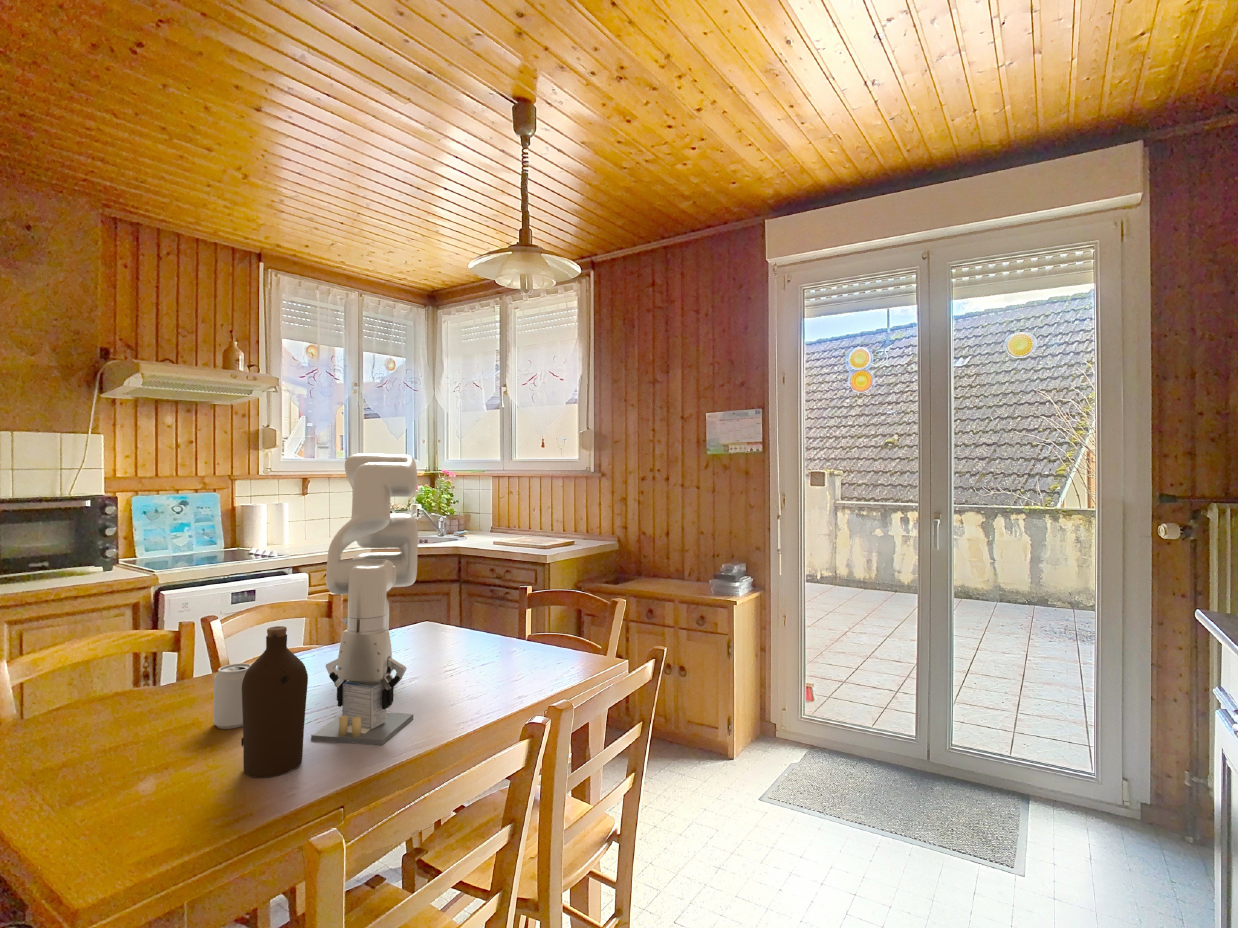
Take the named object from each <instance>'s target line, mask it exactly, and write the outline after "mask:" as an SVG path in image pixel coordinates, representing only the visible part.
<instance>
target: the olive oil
mask: <svg viewBox="0 0 1238 928" xmlns="http://www.w3.org/2000/svg"><path fill="white" fill-rule="evenodd" d="M266 634H267V636H266V637H265V638H266V639H265V640H266V641H265V647H266V649H265V650H264V651H263V652H262V653H261V655H259V656H258V657H257V658H256V660H255V661H253V663H252V664H251V666H250V667H249V668H248V670H247V671H246V673H245V676H244V679H243V682H242V711H243V726H242V738H241V739H240V740H241V745H240V746H241V747H243V754H242V757H243V761H242V762H243V765H242V766H243V774H245V775H246V776H248V777H250V778H251V777H252V778H260V779H261V778H262V779H263V778H271V777H277V776H281V775H284V774H287V773H289V772H292V771H294V770H295V769H297V768H298V767H299V766H300V765H301V764H302V762H303V756H304V755H303V754H304V753H303V752H304V750H303V749H304V733H305V731H304V730H305V720H306V719H305V718H306V706H307V695H308V685H309V684H308V683H309V675H308V671H307V668H306V666H305V664H304V663H303V661H302V660H301V659H300V658H299V657H298V656H296V655H295V654H294V653H293V652H292V651H291V650H289V648H288V647H287V644H288V634H287V626H277V625H276V626H272V627H268V628H267V629H266Z"/></svg>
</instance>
